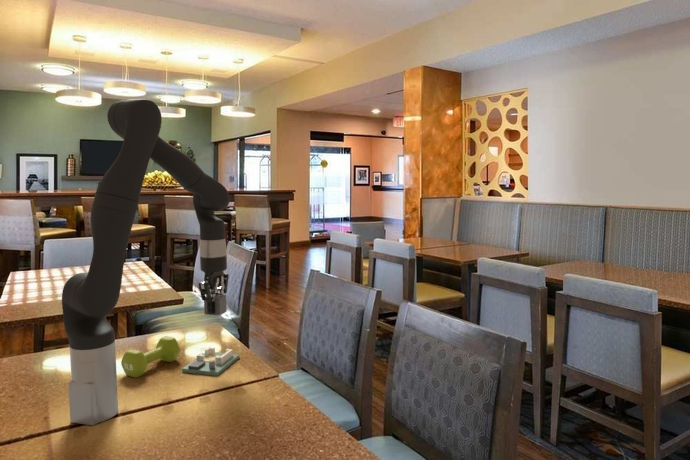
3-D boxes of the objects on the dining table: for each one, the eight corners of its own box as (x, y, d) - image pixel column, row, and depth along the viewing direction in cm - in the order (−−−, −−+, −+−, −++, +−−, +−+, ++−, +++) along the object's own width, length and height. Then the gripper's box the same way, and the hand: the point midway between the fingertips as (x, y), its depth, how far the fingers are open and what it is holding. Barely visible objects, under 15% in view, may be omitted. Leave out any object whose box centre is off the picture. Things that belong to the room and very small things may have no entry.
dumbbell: (138, 381, 132) (137, 355, 131) (118, 375, 135) (117, 350, 134) (183, 360, 146) (182, 337, 145) (163, 356, 150) (163, 333, 149)
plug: (220, 315, 140) (219, 298, 140) (202, 314, 142) (202, 297, 141) (226, 311, 144) (226, 295, 144) (209, 310, 145) (209, 294, 145)
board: (217, 375, 135) (217, 365, 134) (182, 372, 137) (181, 361, 137) (239, 357, 148) (239, 348, 148) (207, 354, 151) (206, 345, 150)
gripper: (212, 259, 133) (214, 319, 135) (236, 250, 147) (237, 305, 149) (188, 257, 135) (190, 317, 137) (213, 249, 148) (215, 304, 151)
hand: (215, 311), depth 143 cm, fingers closed on plug, 4 cm apart
